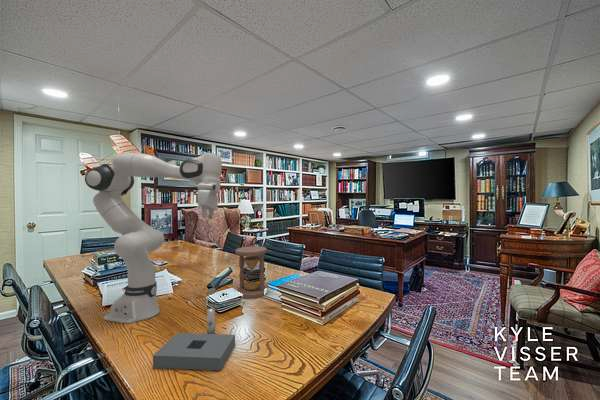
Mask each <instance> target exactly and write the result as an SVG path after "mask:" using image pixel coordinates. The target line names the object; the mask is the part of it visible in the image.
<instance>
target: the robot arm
mask: <svg viewBox="0 0 600 400" xmlns="http://www.w3.org/2000/svg"><path fill="white" fill-rule="evenodd" d="M222 163H223V162H222V158H221V157H220V156H219V155H218V154H216V153H212V152H203V154H201V155H199V156H197V157H193V158H186V159H184V160H183V161H181V163H180V165H176V164H175V165H174V164H171V163H168V162H167V161H164V160H162V159H161V158H159V157H156V156H154V155H151V154H148V153H140V152H139V153H138V152H122V153H119V154H116V155H115V156H114V158H113V159H112V162H111V164H107V163H103V164H100V165H98V166H95V167H92V168H90V169H89V170H87V171H86V173H85V175H84V182H85V185H87V187H89V189H92V190H94V191H98V193H96V194H95V195H94V197H93V198H92V202H93V205H94V207H95V209H96V210H97V212H98V214H99V215H100V216H101V217H102V218H103V221H105V222H106V223H107V225H108V226H109V227H110V229H111V230H112V231H113V232H114V233H115V232H116V233H118V234H119V235H121V236H120V237H118V238H117V239H116V240H115V241H114V246H113V250H114V252H115V254H116V255H117V256H118V257H120V258H121V259H122V260H123V261H124V264H125V266H126V270H127V284H126V286H124V287H122V288H121V289H122V291H123V292H124V293H123V294H122V295H121V296H120V297H119V298H117V299H116V300H115V301H113V302H112V304H111V306H110V309H109V312H108V313H106V314H105V315H104V316H103V320H104V321H109V322H115V323H121V324H127V325H129V324H131V323H135V322H139V321H143V320H147V319H150V318H152V317H154V316H156V315H157V314H159V313H160V311H161V309H160V307H159V303H158V299H157V298H158V297H157V289H158V288H157V287H158V286H157V280H156V265H155V264H154V263H153V262H151V260H150V256H149V253H152V252H154V251H156V250H158V249H159V248H161V247H162V246H163V244H164V243H165V235H164V233H163V232H162V231H160V230H159V229H156V228H154V227H152V226H151V225H149V224H147V223H146V222H145V221H143V220H142V219H141V218H140V217H139V216H138V215H136V213H134V211H133V210H132V209H131V208H130V206H128V204H127V203H126V202H125V201H124V199H123V198H122V197H123V196H125V195H127V193H128V192H129V191H130V190H131V189H132V188H133V187H134V184H135V177H136V178H137V177H138V178H170V179H177V180H187V181H190V182H192V183H194V184H196V185H197V186H196V188H197V204H198V207H200V208H201V214H202V216H201V217H202V218H203V219H208V220H213V218H214V214H215V211H217V210H218V206H219V196H218V194H220V192H221V184H222V183H221V181H222V180H221V176H222V169H223V166H222V165H223V164H222Z"/></svg>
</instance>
